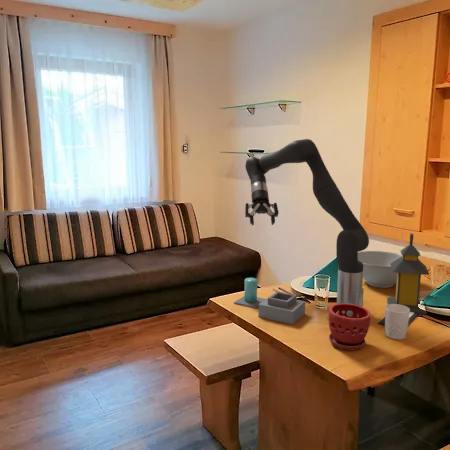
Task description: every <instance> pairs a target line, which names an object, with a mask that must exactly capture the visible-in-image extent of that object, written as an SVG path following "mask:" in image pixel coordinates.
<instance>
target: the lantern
mask: <svg viewBox="0 0 450 450" xmlns="http://www.w3.org/2000/svg"><path fill="white" fill-rule="evenodd" d="M413 244H414V233H410V234H409V244H408V245H407V246H405V247H404V248H402V249H401V250H400V254H401V255H402V257H400V258H399V259H397V260H395V261H394V262H392V263H390V265H391V270H392V272H396V273H397V283H395V284H396V286H395V296H393V297H392V296H387V298H386V302H387V305H388V304H400V305H404V306H406V307H408V308H409V309H410V312H413V313H418V315H423V316H425V315H427V314H428V311H427V312H426V311H424V310H422V309H420V308H419V307H418V304H420V301H421V300H422V299H420V291H421V289H420V288H421V277H422V276H423V275H425V276H429V275H430V273H429V269H428V267H427V266H426V265H425V263H423V262H422V261H421V260H420V259H419V257H421V252H420V251H419V250H418V249H417V248H416V247H415V245H413Z"/></svg>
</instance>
